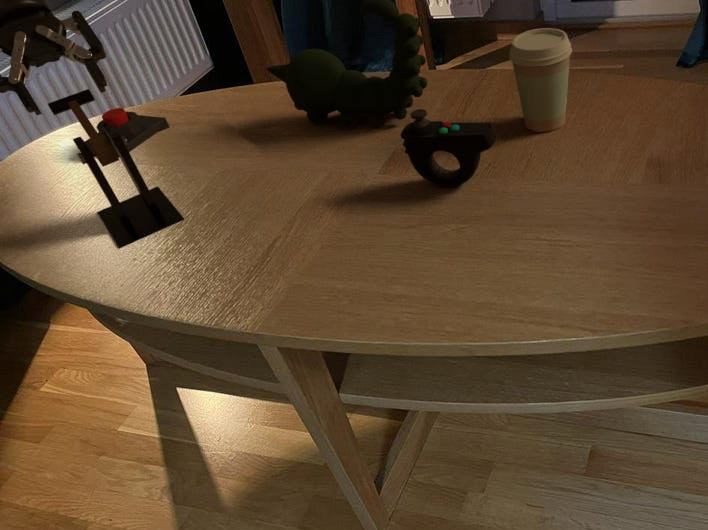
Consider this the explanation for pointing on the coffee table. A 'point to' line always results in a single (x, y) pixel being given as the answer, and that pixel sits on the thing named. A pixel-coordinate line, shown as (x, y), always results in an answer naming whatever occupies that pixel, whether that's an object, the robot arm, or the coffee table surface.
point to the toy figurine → (358, 76)
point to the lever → (86, 125)
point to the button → (115, 117)
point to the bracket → (136, 212)
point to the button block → (134, 129)
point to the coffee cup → (542, 76)
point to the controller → (446, 147)
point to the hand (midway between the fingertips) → (70, 100)
